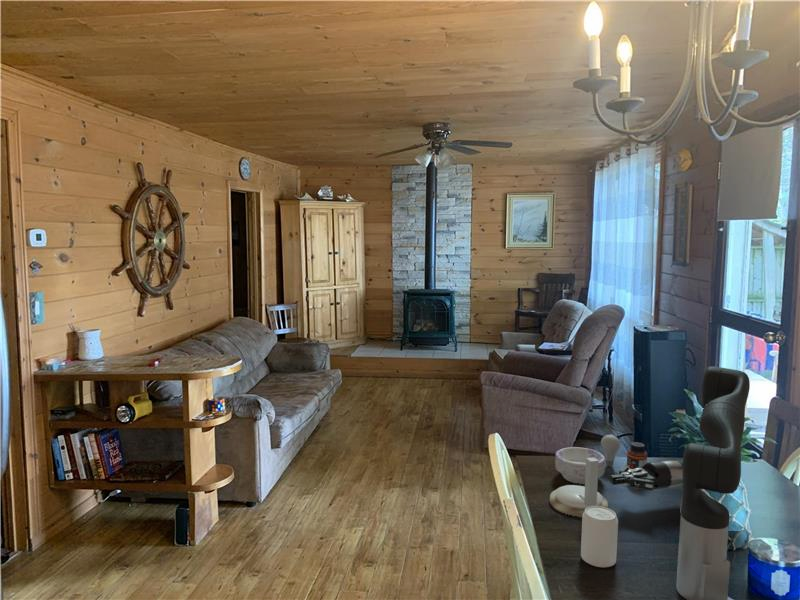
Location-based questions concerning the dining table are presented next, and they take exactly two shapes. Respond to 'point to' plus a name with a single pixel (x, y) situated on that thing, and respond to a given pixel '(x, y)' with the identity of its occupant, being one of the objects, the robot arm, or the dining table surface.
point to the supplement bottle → (636, 455)
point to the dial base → (570, 510)
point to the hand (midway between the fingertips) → (611, 480)
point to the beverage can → (599, 536)
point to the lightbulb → (610, 448)
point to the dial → (582, 489)
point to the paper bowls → (577, 463)
